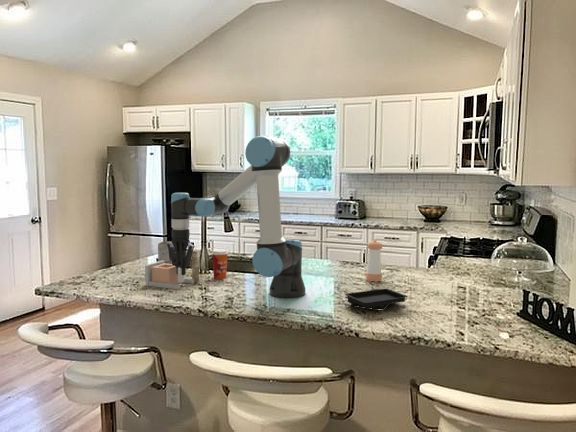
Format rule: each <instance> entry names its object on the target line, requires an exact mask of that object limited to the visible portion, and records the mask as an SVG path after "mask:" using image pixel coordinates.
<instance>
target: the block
mask: <svg viewBox="0 0 576 432" xmlns="http://www.w3.org/2000/svg"><path fill="white" fill-rule="evenodd" d="M151 268H152V282H160V283H168V284H177V285H180V283H178V275H177V273H176V266H173V265H172V264H166V263H164V264H160V265H157V266H154V267H151Z"/></svg>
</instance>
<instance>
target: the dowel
mask: <svg viewBox="0 0 576 432" xmlns="http://www.w3.org/2000/svg"><path fill="white" fill-rule="evenodd" d="M191 279H194V283H195V282H196V283H197V282H200V250H194V249H193V252H192V256H191Z"/></svg>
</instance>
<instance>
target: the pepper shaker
mask: <svg viewBox="0 0 576 432" xmlns="http://www.w3.org/2000/svg"><path fill="white" fill-rule="evenodd" d="M367 249H368V258H367V259H368V260H367V265H366V266H367V267H366V270H367V271H366V273H365V274H366V275H365V281H367V280H368V281H367V282H370V281H381V280H382V281H383V273H382V261H381V254H382V253H381V251H382V249H383V244H382V242H379V241H377V240H376V239H374V240H373V241H370V242H368V243H367ZM382 281H381V282H382Z"/></svg>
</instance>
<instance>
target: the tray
mask: <svg viewBox="0 0 576 432" xmlns="http://www.w3.org/2000/svg"><path fill="white" fill-rule="evenodd" d="M344 295H345V297H344V298H346V299H347V303H349V304H350V306H351V305H352V306H351V307H354V306H359V307H358V308H360V307H365V308H364V309H366V308H372V309H371V310H373V309H384V308H385V307H386V306H387V305H388V304H389V305H391V304H395V303H396V304H397V303H404V302H406V298H408V297H409V296H408V295H406V294H404V293H402V292H398V291H395V290H392V289H389V288H380V289H379V288H373V289H371V290H363V291H356V292H348V293H345V294H344ZM389 305H388V306H389ZM388 306H387V307H388ZM387 307H386V308H387ZM386 308H385V309H386ZM385 309H384V310H385Z"/></svg>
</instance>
